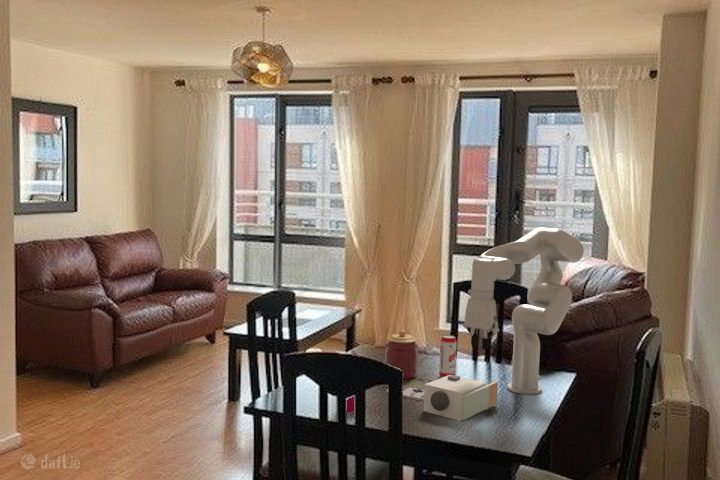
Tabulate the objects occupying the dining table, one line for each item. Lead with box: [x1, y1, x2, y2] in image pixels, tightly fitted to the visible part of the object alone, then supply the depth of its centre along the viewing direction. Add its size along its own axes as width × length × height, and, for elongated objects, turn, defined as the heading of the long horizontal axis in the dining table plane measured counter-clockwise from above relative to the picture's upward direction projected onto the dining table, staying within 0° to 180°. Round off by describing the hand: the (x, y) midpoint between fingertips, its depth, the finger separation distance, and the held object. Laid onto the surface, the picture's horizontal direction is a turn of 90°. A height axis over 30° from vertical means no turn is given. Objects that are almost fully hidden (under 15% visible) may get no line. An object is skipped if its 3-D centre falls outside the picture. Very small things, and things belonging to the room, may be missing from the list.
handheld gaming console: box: [402, 387, 424, 402], centre depth 246 cm, size 10×2×15 cm
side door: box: [461, 381, 499, 421], centre depth 228 cm, size 22×1×8 cm, turn 142°
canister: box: [384, 329, 420, 380], centre depth 273 cm, size 13×13×18 cm
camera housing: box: [423, 374, 487, 422], centre depth 230 cm, size 18×14×10 cm
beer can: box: [438, 334, 457, 378], centre depth 272 cm, size 6×6×16 cm
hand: (479, 347), depth 239 cm, fingers open, 3 cm apart
